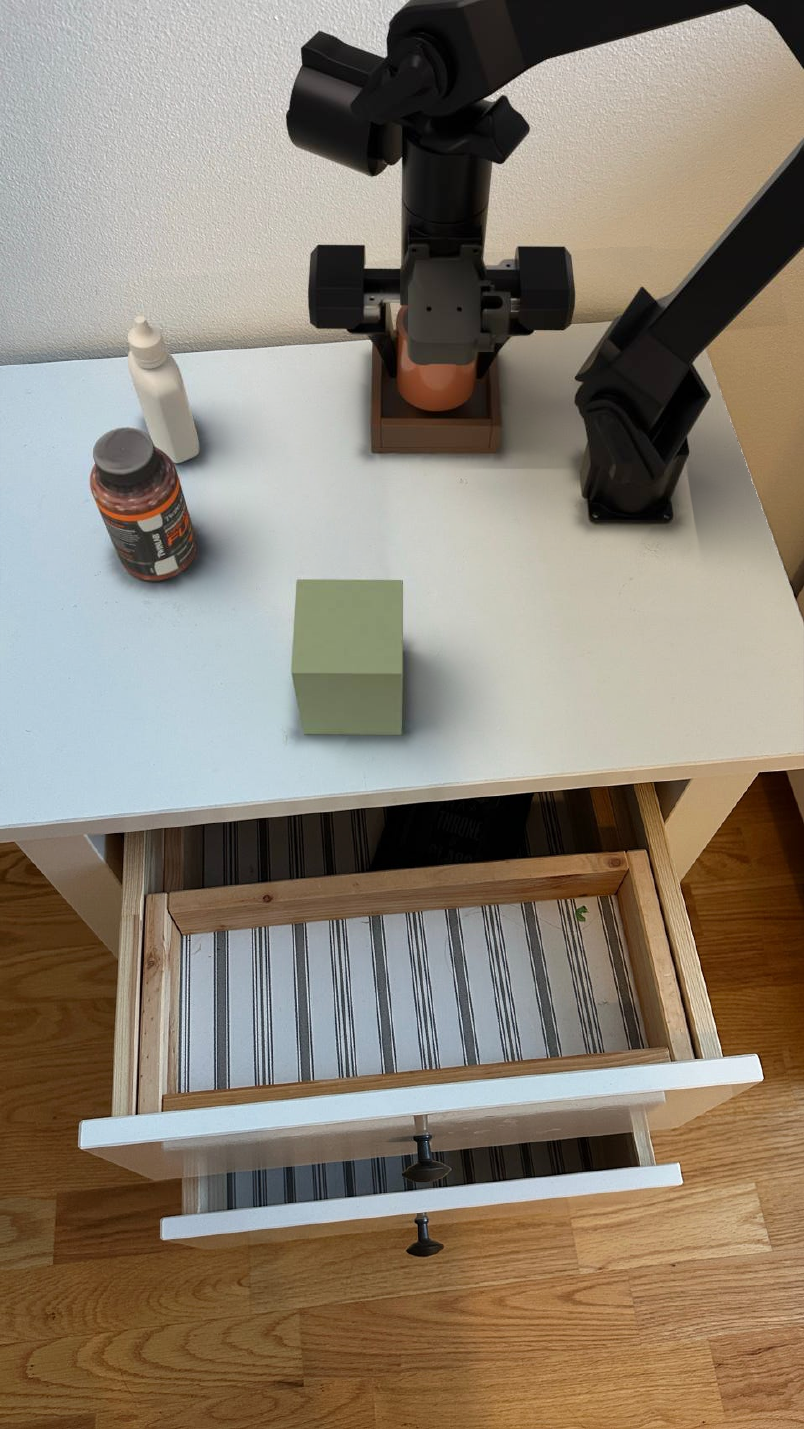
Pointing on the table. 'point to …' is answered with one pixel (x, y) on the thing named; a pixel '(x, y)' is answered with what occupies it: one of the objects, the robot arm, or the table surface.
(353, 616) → the sage green cube
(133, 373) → the eye dropper bottle
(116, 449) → the supplement bottle
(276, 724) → the table surface
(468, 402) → the tray
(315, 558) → the table surface
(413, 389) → the cup
